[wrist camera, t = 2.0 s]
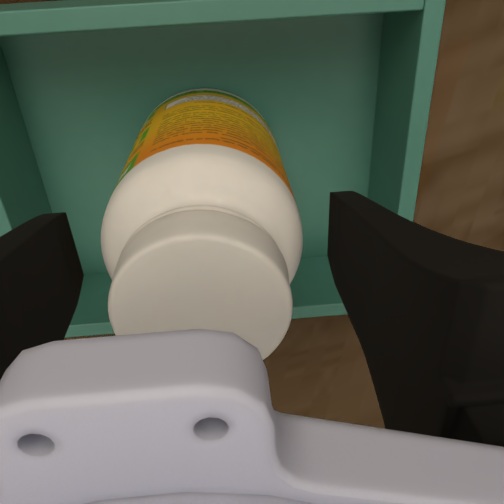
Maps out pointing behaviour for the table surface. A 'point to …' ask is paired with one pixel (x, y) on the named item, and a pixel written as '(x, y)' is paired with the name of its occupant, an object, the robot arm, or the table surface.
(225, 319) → the supplement bottle
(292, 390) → the table surface
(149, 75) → the tray
